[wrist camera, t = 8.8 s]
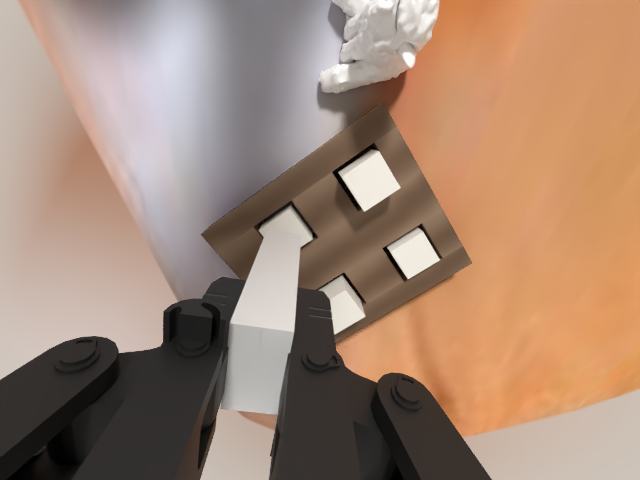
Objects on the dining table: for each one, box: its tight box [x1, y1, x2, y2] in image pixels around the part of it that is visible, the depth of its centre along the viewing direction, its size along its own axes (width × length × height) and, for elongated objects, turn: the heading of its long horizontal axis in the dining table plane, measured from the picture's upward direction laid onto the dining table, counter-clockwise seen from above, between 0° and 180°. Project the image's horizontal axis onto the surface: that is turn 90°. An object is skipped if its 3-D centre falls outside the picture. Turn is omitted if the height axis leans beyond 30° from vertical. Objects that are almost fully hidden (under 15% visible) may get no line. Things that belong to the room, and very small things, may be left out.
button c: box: [338, 149, 401, 212], centre depth 29 cm, size 4×4×4 cm
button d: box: [386, 227, 440, 279], centre depth 34 cm, size 4×4×4 cm
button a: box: [259, 202, 313, 247], centre depth 33 cm, size 4×4×4 cm
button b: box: [319, 275, 366, 334], centre depth 34 cm, size 4×4×4 cm
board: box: [201, 103, 472, 343], centre depth 34 cm, size 20×22×4 cm
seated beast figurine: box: [319, 0, 439, 94], centre depth 23 cm, size 10×9×12 cm
